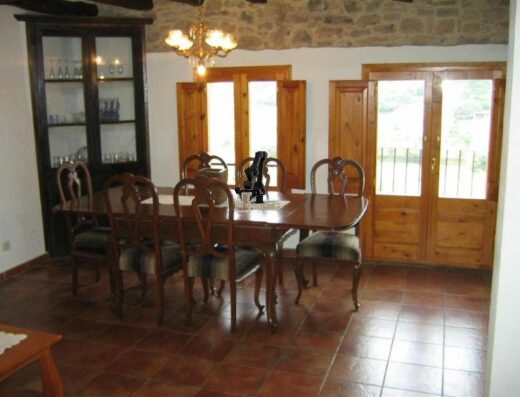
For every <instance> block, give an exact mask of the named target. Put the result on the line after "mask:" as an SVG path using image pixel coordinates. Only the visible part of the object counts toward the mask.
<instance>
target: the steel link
mask: <svg viewBox="0 0 520 397" xmlns="http://www.w3.org/2000/svg"><path fill="white" fill-rule="evenodd" d="M243 194H247V210H251V201H249V200H250V197H251V193H250V192H242V201H241V210H243Z"/></svg>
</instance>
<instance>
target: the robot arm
mask: <svg viewBox="0 0 520 397" xmlns="http://www.w3.org/2000/svg"><path fill="white" fill-rule="evenodd" d="M268 156H269V153H268V152H267V151H266V150H258V151H256V152H255V153H254V158H253V161H252V163H251V165H249V166H247V168H245V169H244V176H245V178H246V180H243V181H242V186H243V188H242V187H241V186H235V187H234V189H233V190H234V192H235V194H236V195H238V196H239V198H240V201H241V202H242V192H247V193H251V194H250V200H249V201H250V202H251V201H252V200H253V199H254V198H255V201H254V203H255V204H265V201H264V196H266V195H267V191H266V187H265V183H264V181H263V180H264V169H265V162H266V161H267V158H268Z"/></svg>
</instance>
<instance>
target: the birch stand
mask: <svg viewBox="0 0 520 397" xmlns="http://www.w3.org/2000/svg"><path fill="white" fill-rule="evenodd" d="M247 208H248V195H247V194H243V209H242V208H240V209H236V211H234V212H236V213H251V212H253V210H252V209H250V210H247Z"/></svg>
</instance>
